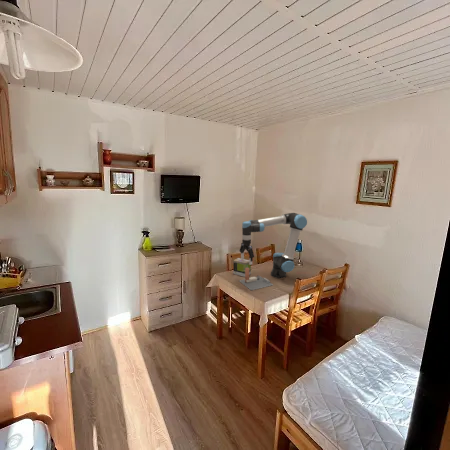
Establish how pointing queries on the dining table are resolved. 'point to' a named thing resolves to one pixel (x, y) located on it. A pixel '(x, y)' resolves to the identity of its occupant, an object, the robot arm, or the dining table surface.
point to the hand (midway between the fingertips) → (246, 262)
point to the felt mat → (255, 284)
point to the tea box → (241, 266)
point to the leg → (248, 276)
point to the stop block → (266, 280)
